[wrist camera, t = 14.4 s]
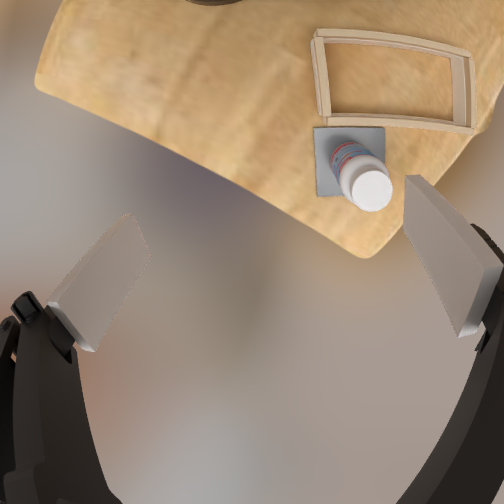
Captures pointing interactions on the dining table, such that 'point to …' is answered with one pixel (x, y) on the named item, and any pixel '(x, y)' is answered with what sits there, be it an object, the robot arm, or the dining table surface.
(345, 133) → the coaster
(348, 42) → the beige frame
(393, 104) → the dining table surface
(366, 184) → the pill bottle
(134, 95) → the dining table surface
